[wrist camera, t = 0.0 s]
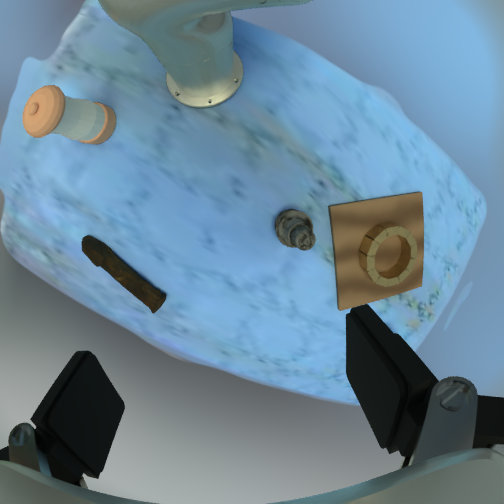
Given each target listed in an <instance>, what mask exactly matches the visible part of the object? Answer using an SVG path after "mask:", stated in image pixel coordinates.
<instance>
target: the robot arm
mask: <svg viewBox="0 0 504 504" xmlns="http://www.w3.org/2000/svg"><path fill="white" fill-rule="evenodd" d="M98 1H99V3H100V5H101V7H102V9H103V10H104V11H105V12H106V14H107V15H108V16H109V17H110V18H111V19H112V20H113V21H114V22H116V23H117V24H118V25H120V26H121V27H123V28H125V29H126V30H128V31H130V32H132V33H133V34H135V35H137V36H139V37H140V38H141V39H142V40H143V41H144V42H145V43H146V44H147V45H148V46H149V48H150V49H151V50H152V52H153V53H154V54H155V56H156V57H157V59H158V60H159V61H160V63H161V64H162V65H163V67H164V68H165V69H166V71H167V74H166V83H167V86H168V89H169V91H170V93H171V94H172V95H173V97H174V98H175V99H177V100H178V101H179V102H181V103H182V104H184V105H187V106H189V107H194V108H208V107H213V106H216V105H219V104H221V103H223V102H225V101H227V100H228V99H229V98H231V97H232V96H233V95H234V94H235V93H236V91H237V90H238V88H239V87H240V85H241V82H242V79H243V65H242V61H241V59H240V57H239V56H238V55H237V53H236V52H235V51H234V50H233V21H232V16H231V14H230V11H234V10H243V9H252V8H263V7H275V6H276V7H277V6H293V5H300V4H305V3H308V2H310V1H312V0H98ZM235 81H238V83H235ZM178 94H180V95H179V96H177V95H178ZM210 101H211V102H212V103H211V104H209V102H210ZM346 374H347V378H348V380H349V382H350V384H351V387H352V389H353V391H354V393H355V395H356V397H357V399H358V401H359V403H360V405H361V407H362V409H363V411H364V413H365V415H366V418H367V420H368V421H369V424H370V425H371V428H372V430H373V432H374V434H375V436H376V439H377V441H378V443H379V445H380V447H381V448H383V449H384V448H387V450H388V452H389V454H391V453H393V452H396V451H398V450H399V452H400V454H401V456H404V459H403V461H402V464H401V467H400V469H399V470H397V471H394V472H391V473H388V474H386V475H383V476H380V477H377V478H374V479H371V480H368V481H365V482H362V483H360V484H356V485H353V486H350V487H346V488H343V489H339V490H336V491H332V492H328V493H324V494H319V495H314V496H310V497H305V498H300V499H295V500H290V501H283V502H276V503H269V504H504V398H502V397H491V396H481V395H478V394H477V389H476V388H475V386H474V384H473V383H472V382H471V381H469V380H467V379H465V378H463V377H457V376H455V377H454V376H452V377H447V378H444V379H442V380H441V381H438V380H437V378H436V377H435V376H434V375H433V373H432V372H431V371H430V370H429V369H428V367H427V366H426V365H425V364H424V363H423V361H422V360H421V359H420V358H419V357H418V356H417V354H416V353H415V352H414V351H413V350H412V349H411V347H410V346H409V345H408V344H407V343H406V342H405V341H404V339H403V338H402V337H401V336H400V335H399V334H397V333H393V332H392V331H391V330H390V329H389V328H388V326H387V325H386V324H385V323H384V322H383V321H382V320H381V318H380V317H379V316H378V315H377V314H376V313H375V312H374V311H373V309H372V308H371V307H370V306H369V305H368V304H364V305H361V306H357V307H354V308H351V310H350V313H348V314H346ZM124 409H125V405H124V402H123V400H122V399H121V397H120V396H119V395H118V393H117V391H116V390H115V388H114V386H113V385H112V383H111V382H110V380H109V378H108V377H107V375H106V373H105V372H104V370H103V368H102V366H101V365H100V363H99V361H98V360H97V358H96V356H95V355H93V354H92V353H91V352H90V351H77V352H76V353H75V354H74V355H73V356H72V358H71V359H70V361H69V362H68V363H67V365H66V366H65V368H64V369H63V370H62V372H61V373H60V375H59V376H58V378H57V379H56V380H55V382H54V384H53V385H52V386H51V388H50V389H49V391H48V393H47V394H46V396H45V397H44V399H43V400H42V402H41V403H40V405H39V406H38V408H37V409H36V411H35V413H34V414H33V416H32V418H31V419H30V420H31V421H32V422H33V423H34V424H35V425H36V429H34V428H33V427H32V426H31V424H29V423H20V424H18V425H17V426H15V427H14V428H13V430H12V431H11V432H10V435H9V440H8V443H9V446H7V447H5V448H3V449H1V450H0V504H157V503H149V502H142V501H137V500H131V499H126V498H121V497H116V496H112V495H107V494H103V493H100V492H96V491H92V490H89V489H88V487H87V485H86V483H85V480H84V478H83V476H82V475H83V473H84V474H86V475H87V476H89V477H93V478H97V479H98V478H99V475H100V473H101V472H102V471H103V469H104V466H105V463H106V460H107V457H108V454H109V451H110V448H111V445H112V442H113V440H114V437H115V434H116V431H117V428H118V426H119V423H120V420H121V417H122V415H123V412H124Z"/></svg>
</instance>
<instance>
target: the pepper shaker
mask: <svg viewBox="0 0 504 504" xmlns="http://www.w3.org/2000/svg"><path fill="white" fill-rule="evenodd" d="M23 125H24V128H25V130H26V131H27V133H28V134H29V135H31V136H33V137H35V138H41V137H43V136H46V135H48V134H50V133H54V134H60V135H62V136H65V137H67V138H69V139H71V140H78V141H80V142H82V143H88V144H100V143H103V142H104V141H106V140H107V139H108V138H109V137H110V136H111V135H112V133H113V131H114V129H115V125H116V116H115V113H114V111H113V110H112V109H111V108H110V107H108V106H106V105H103V104H101V103H99V102H91V101H89V100H86V99H74V98H70V97H68V96H65V95H64V93H63V92H62V91H61V89H60V88H59V87H57V86H55V85H48V86H44V87H42V88H40V89H38V90H37V91H35V92H34V93H33V94H32V95H31V97H30V98H29V100H28V101H27V103H26V105H25V108H24V112H23Z"/></svg>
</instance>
